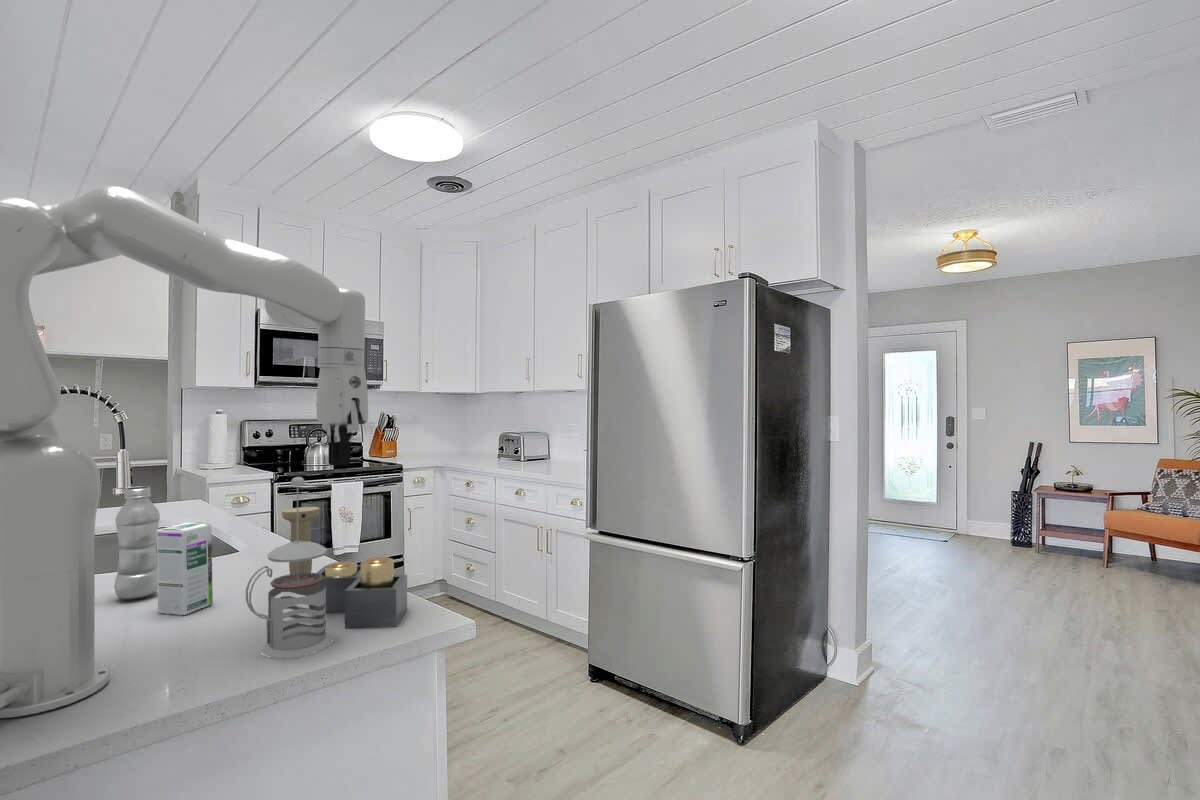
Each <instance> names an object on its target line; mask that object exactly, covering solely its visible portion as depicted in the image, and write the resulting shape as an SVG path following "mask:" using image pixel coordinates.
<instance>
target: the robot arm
mask: <svg viewBox="0 0 1200 800" xmlns="http://www.w3.org/2000/svg"><path fill="white" fill-rule="evenodd" d="M119 256H124V257H126V258H128V259H131V260H133V261H134V262H138V263H140V264H142V265H145V266H147V267H149V268H151V269H154V270H156V271H159V272H161V273H164V274H166V275H168V276H170V277H172V278H175V279H177V280H179V281H181V282H184V283H187V284H189V285H190V286H193V287H194V288H198V289H203V290H206V291H211V292H216V293H222V294H223V293H225V294H235V295H244V296H248V297H249V296H250V297H254V298H257V299H261V300H264V308H265V313H267V315H268V317H269V318H270V319H271V320H272V321H273V322H274V323H276V324H278V325H279V326H283V327H285V328H291V329H292V328H294V329H297V328H298V329H299V328H300V329H301V328H315V329H317V330H318V333H317V334H318V337H317V338H318V340H317V341H318V343H317V346H318V349H317V368H319V374H318V381H317V390H316V418H317V421H318V422H320V423H321V425H322V426H321V428H322V430H323V431H325V432H326V435H327V437H326V438H327V442H328V457H327V459H328V466H329V465H331V466H346V465H348V466H349V465H350V464H351V446H352V443H351V442H353V437H354V433H357V432H359V431H360V425H365V424H366V423H367V422H368V420H369V398H368V397H369V395H368V383H367V381H368V380H367V375H366V370H365V342H366V341H365V338H366V337H365V335H366V334H365V332H366V298H365V295H363V293H361V292H360V291H358V290H356V289H350V288H340V287H338V286H337V285H336V284H335V283H334V282H333V281H332V280H331V279H329V278H328V277H326V276H325V275H323V274H321V273H319V272H318V271H316V270H314V269H312V268H310V267H308V266H306V265H305V264H303V263H301V262H298V261H297V260H294V259H292V258H290V257H287V256H285V255H282V254H280V253H276V252H273V251H271V250H268V249H267V250H266V249H264V248H260V247H257V246H255V245H251V244H249V243H246V242H243V241H240V240H236V239H232V238H229V237H227V236H224V235H222V234H220V233H219V232H216V231H214V230H212V229H209V228H208V227H206V226H204V225H202V224H200V223H198V222H195V221H194V220H192V219H190V218H188V217H186V216H184V215H182V214H180V213H178V212H176V211H175V210H173V209H170V208H168V207H167V206H165V205H163V204H160V203H159V202H157V201H155V200H153V199H151V198H148V197H147V196H145V195H143V194H140V193H138V192H137V191H134V190H132V189H130V188H127V187H123V186H119V185H104V186H100V187H96V188H93V189H91V190H90V191H87V192H86V193H84V194H82V195H80V196H79V197H77V198H73V199H70V200H65V201H61V202H60V201H59V202H55V203H50V204H43V205H40V204H38V203H36V202H34V201H32V200H30V199H25V198H21V197H15V196H3V197H0V719H9V718H10V719H11V718H19V717H24V716H30V715H37V714H40V713H44V712H48V711H51V710H55V709H58V708H62V707H64V706H68V705H70V704H73V703H76V702H78V701H79V700H83V699H86V698H87V697H89V696H91V695H93V694H94V693H96V692H99V690H100V689H102V688H103V687H104V686H106V684H108V683H109V681H110V680H111V678H110V677H111V670H110V667H109V666H107V665H106V664H103V663H98V662H95V643H96V642H95V635H96V634H95V626H96V625H95V616H96V615H95V610H96V609H95V597H96V596H95V594H96V593H95V589H96V588H95V584H96V583H95V577H96V576H95V575H96V574H95V533H96V531H95V528H96V518H97V511H98V504H99V499H100V492H101V491H100V490H101V479H100V471H99V468H98V465H97V462H96V461H95V460H94V458H93V457H92V456H91V455H90V453H89V452H88V451H87V450H86V449H84V448H83V447H81V446H80V445H78V444H76V443H74V442H72V441H69V440H65V439H61V437H60V435H59V432H58V430H57V426H56V425H55V421H54V419H53V416H54V415H55V414H56V412H57V411H58V409H59V407H60V404H61V400H62V393H61V392H62V391H61V388H60V383H59V380H58V378H57V377H56V374H55V372H54V369H53V368H52V365H51V363H50V360H49V358H48V355H47V353H46V350H45V348H44V345H43V343H42V340H41V337H40V335H39V332H38V330H37V325H36V323H35V320H34V316H33V312H32V309H31V303H30V298H29V297H30V296H29V291H30V286H31V282H32V279H33V278H34V276H35V277H36V276H39V275H44V274H48V273H49V274H50V273H54V272H57V271H58V272H59V271H63V270H68V269H72V268H73V269H74V268H76V267H81V266H86V265H89V264H94V263H97V262H101V261H105V260H109V259H113V258H117V257H119Z"/></svg>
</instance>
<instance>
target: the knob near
mask: <svg viewBox="0 0 1200 800" xmlns="http://www.w3.org/2000/svg"><path fill="white" fill-rule="evenodd" d="M360 565H361V588H392V586H393V585H394V575H395V559H393V558H391V557H384V556H380V557H371V558H366V559H364V560H362V561H360Z"/></svg>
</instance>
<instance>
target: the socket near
mask: <svg viewBox="0 0 1200 800" xmlns="http://www.w3.org/2000/svg"><path fill="white" fill-rule="evenodd" d="M407 610H408V575H407V574H394V585H393V586H392V588H361V576H359V577H358V578H357V579H356V580H355V581H354V582H353V583H352V584H351V585H350V586H349V587H348V588H347V589H346V590H345V613H344V629H362V628H364V627H370V628H396V627H398V625H399V623H400V622H401V620H402V618H403V616H404V615H405V613H406V612H407Z"/></svg>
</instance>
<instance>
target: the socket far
mask: <svg viewBox="0 0 1200 800" xmlns="http://www.w3.org/2000/svg"><path fill="white" fill-rule="evenodd" d="M325 566H326V565H324V566H323V567H322V568H321V569H319V570H318V571H317V572H316V573H318V574H321V575H323V577H324V579H323V580H322V581H321V582H320V583H322V584H324V585H325V586H326V614H345V590H346V589H347V588H348V587H349V586H350V585H351V584H352V583H353V582H354V581H355V580H356V579H357V578H358V577H359V576H361V564H357V573H356V574H355V575H354V576H329V577H325ZM312 608H316V606H313V605H308V609H312Z"/></svg>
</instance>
